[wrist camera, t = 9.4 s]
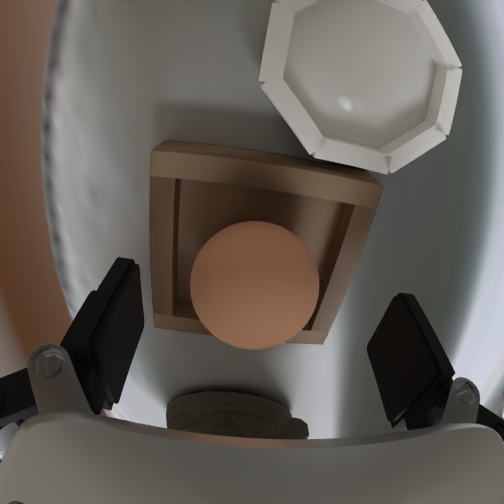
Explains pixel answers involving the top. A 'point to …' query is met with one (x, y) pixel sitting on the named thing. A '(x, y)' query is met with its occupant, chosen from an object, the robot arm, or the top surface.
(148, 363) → the top surface
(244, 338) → the ball
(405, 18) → the octagonal white dish
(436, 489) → the robot arm
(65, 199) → the top surface
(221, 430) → the beer stein
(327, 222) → the tray
